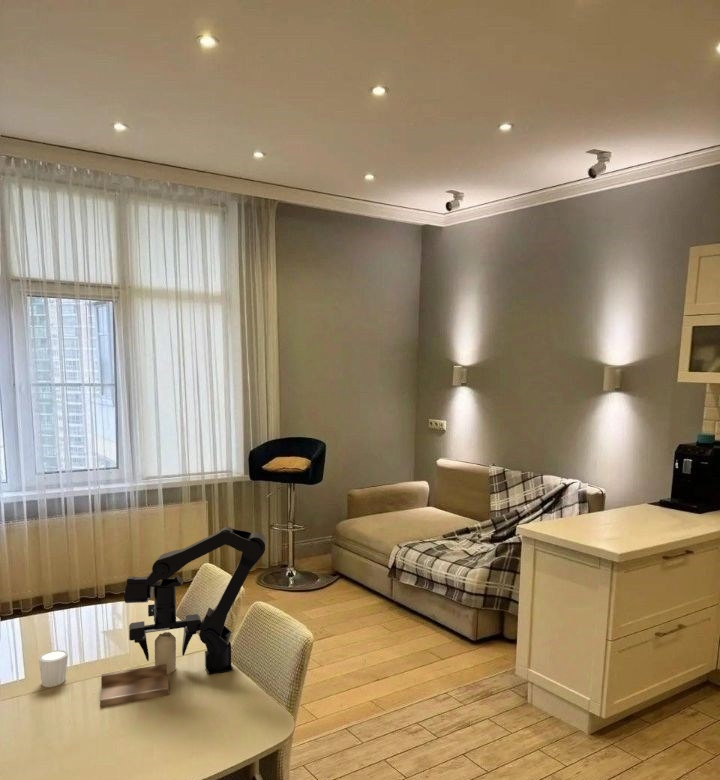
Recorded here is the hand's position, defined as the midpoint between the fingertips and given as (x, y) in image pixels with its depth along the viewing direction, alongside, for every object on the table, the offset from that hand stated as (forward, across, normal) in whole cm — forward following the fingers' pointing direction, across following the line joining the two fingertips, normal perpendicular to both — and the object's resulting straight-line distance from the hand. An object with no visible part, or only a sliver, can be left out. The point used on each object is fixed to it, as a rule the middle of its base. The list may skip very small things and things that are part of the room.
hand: (165, 657), depth 167 cm
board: (+3, +8, +10) cm, 13 cm away
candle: (+4, 0, 0) cm, 4 cm away
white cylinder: (+4, +28, -4) cm, 29 cm away
